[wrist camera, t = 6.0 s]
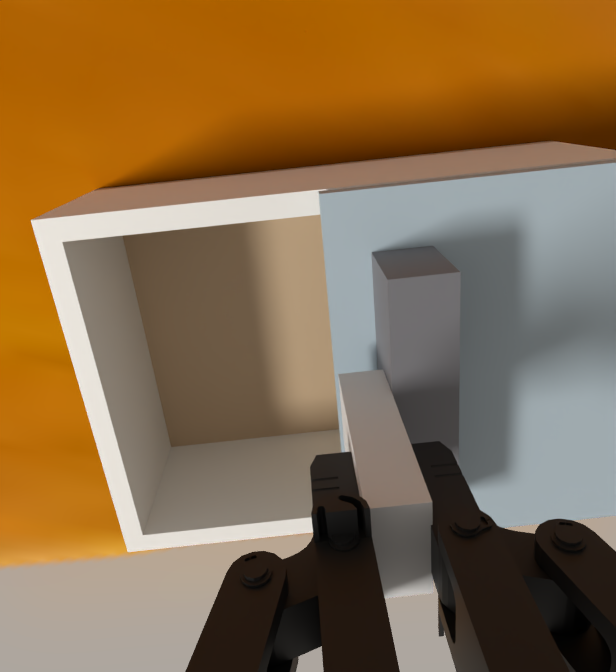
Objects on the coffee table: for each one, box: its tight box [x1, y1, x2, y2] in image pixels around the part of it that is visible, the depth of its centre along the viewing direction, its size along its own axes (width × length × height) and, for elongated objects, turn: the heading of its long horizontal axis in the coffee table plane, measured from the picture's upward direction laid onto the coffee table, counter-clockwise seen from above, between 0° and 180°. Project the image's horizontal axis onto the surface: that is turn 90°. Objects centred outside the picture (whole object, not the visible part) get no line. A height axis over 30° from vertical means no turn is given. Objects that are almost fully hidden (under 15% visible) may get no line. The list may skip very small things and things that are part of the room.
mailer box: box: [31, 141, 616, 552], centre depth 24 cm, size 20×14×7 cm
